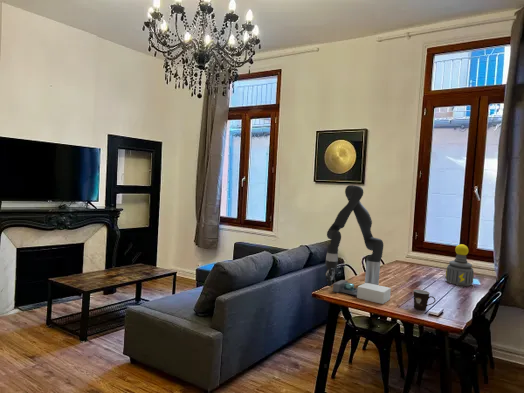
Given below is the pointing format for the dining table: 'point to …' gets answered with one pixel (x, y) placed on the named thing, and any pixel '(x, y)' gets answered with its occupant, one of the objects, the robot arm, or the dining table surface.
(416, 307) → the coffee mug
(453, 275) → the decorative lamp
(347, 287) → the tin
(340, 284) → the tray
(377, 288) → the white rectangular block
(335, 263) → the robot arm
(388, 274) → the dining table surface
